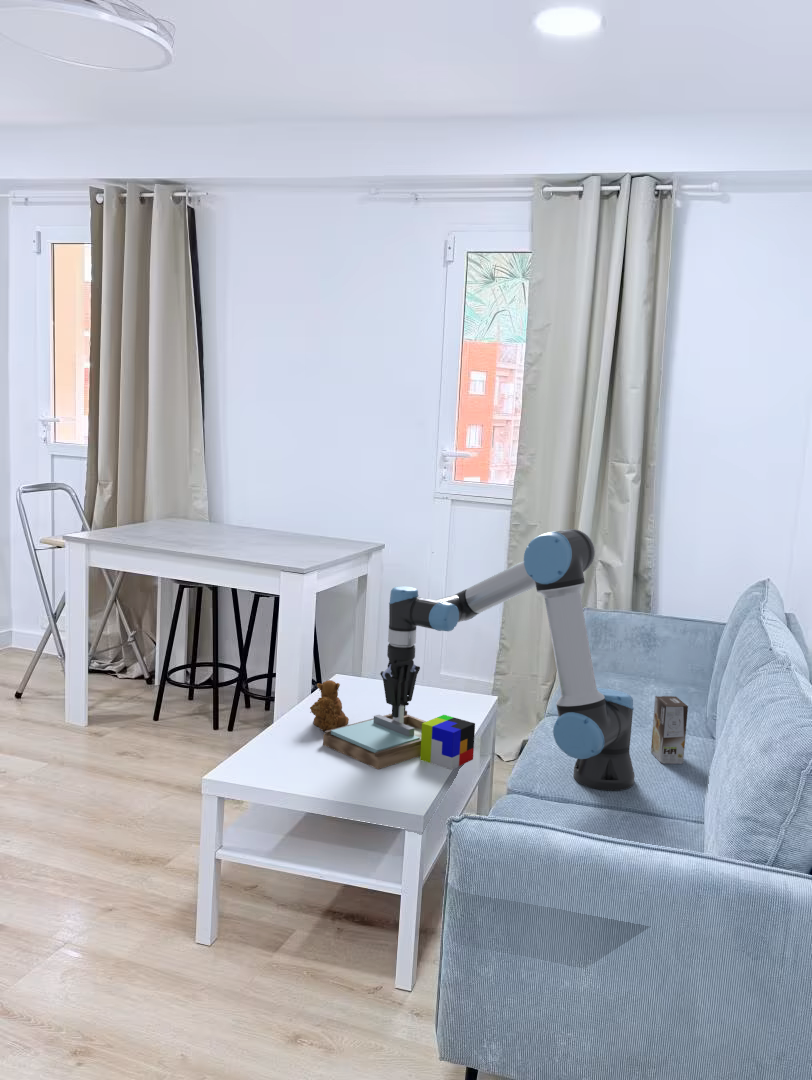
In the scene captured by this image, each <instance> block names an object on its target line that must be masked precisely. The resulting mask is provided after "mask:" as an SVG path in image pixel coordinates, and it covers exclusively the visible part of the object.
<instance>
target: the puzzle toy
mask: <svg viewBox="0 0 812 1080" xmlns="http://www.w3.org/2000/svg"><path fill="white" fill-rule="evenodd" d="M475 729H476V723H475V722H472V721H468V720H464V719H461V718H458V717H454V716H451V715H446V714H442V715H440V716H437V717H435V718H432V719H430V720H428V721H426V722H424V723H422V733H421V754H420V756H419V757H420V759H419V760H420V761H421V762H426V763H428V764H429V763H430V764H432V765H435V766H439V767H441V768H445V769H448V770H450V771H451V770H454V769H457V768H459V767H461V766H462V765H465V764H466V763H470V762H471V761H473V760H474V751H475V750H474V749H475V734H476V733H475V731H476V730H475Z"/></svg>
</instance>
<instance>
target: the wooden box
mask: <svg viewBox="0 0 812 1080" xmlns="http://www.w3.org/2000/svg"><path fill="white" fill-rule="evenodd" d="M383 716H384V717H387V718H389V719H392V720H393V717H392V713H388V714H386V715H385V714H384V715H383ZM373 719H374V717H373V718H369V719H367V720H362V721H359V722H355V723H351V724H347V725H346V726H343V727H347V726H350V725H354V724H358V723H362V722H366V721H369V720H373ZM424 722H427V721H426V720H423V719H421V718H418V717H415V716H412V715H411V714H408V711H407V710H406V709H405V715H404V723H403V724H405V725H408V726H410V727H413V728H414V735H415V736H417V737H420V739H419V740H415V741H412V742H409V743H405V744H402V745H399V746H395V747H392V748H389V749H385V750H382V751H378V752H375V753H374V752H371V751H369V750H367V749H364V748H362V747H360V746H357V745H355V744H353V743H350V742H348V741H346V740H343V739H341V738H339V737H336V736H334V735H332V734H331V730H335V729H339V728H343V727H339V728H335V729H331V730H327V731H325V732H324V734H322V735H323V736H322V737H323V738H322V742H323V743H322V745H323V746H325V747H327V748H329V749H331V750H334V751H336V752H338V753H340V754H343V755H345V756H347V757H350V758H352V759H354V760H356V761H358V762H360V763H362V764H364V765H367V766H369V767H372V768H374V769H377V770H381V769H383V768H386V767H389V766H393V765H396V764H400V763H403V762H407V761H409V760H412V759H416V758H419V757H420V754H421V733H422V723H424Z"/></svg>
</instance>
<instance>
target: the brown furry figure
mask: <svg viewBox="0 0 812 1080" xmlns="http://www.w3.org/2000/svg"><path fill="white" fill-rule="evenodd" d="M340 686H341V684H340V682H336V681H335V680H330V679H329V680H325V681H322V683H316V687H317V688H318V689H319V690H318V691H320V696H321V697H319V698H317V701H315V702H314V703H313V704H312V705H311V706H310V707H309V710H310V712H309V713H310V714H311V713H312V714H313V716H314V718H313V725H314V726H315V727H316V728H319V729H320V731H322V732H324V733H325V731H327V730H331V729H335V728H339V727H343V726H346V725H349V724H348V723H349V718H348V717H347V715H346V713H345V712H344V711H343V703H342V701H341V699H340V698H339V697H338V696H339V691H340V689H339V688H340Z"/></svg>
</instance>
